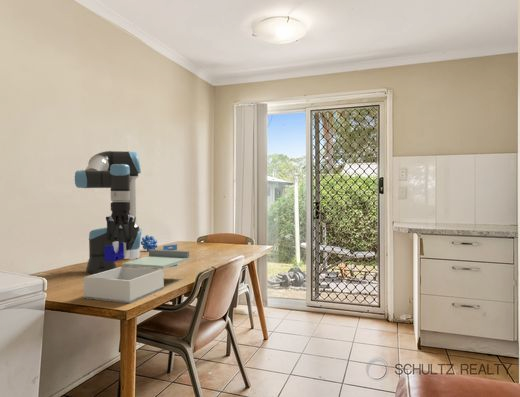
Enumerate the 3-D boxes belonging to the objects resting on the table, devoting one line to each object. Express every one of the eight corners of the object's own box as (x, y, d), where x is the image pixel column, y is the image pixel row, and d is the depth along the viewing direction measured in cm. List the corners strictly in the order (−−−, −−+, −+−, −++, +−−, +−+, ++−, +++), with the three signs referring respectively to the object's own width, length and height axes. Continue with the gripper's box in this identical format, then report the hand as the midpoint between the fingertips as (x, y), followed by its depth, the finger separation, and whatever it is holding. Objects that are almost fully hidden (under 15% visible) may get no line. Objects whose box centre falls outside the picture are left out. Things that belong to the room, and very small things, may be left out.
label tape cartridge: (174, 264, 210) (173, 243, 210) (177, 265, 207) (177, 244, 207) (160, 266, 204) (160, 245, 204) (163, 267, 201) (163, 245, 201)
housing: (83, 298, 142) (83, 277, 141) (122, 285, 162) (121, 266, 162) (130, 303, 134) (129, 281, 134) (163, 288, 155) (163, 269, 155)
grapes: (140, 252, 254) (140, 236, 254) (140, 251, 261) (140, 235, 261) (157, 251, 258) (157, 235, 258) (157, 250, 264) (157, 234, 264)
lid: (121, 265, 162) (121, 256, 162) (151, 257, 183) (151, 249, 183) (163, 268, 155) (163, 258, 155) (189, 259, 176) (189, 251, 176)
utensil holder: (135, 260, 226) (135, 232, 226) (112, 260, 226) (112, 232, 226) (143, 256, 241) (143, 230, 241) (121, 256, 241) (121, 230, 241)
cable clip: (114, 261, 140) (114, 246, 140) (104, 261, 141) (104, 246, 141) (131, 256, 152) (131, 242, 152) (122, 256, 153) (122, 242, 153)
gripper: (96, 201, 148) (97, 258, 148) (132, 201, 142) (133, 260, 142) (109, 201, 155) (110, 255, 155) (144, 201, 149) (145, 257, 149)
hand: (121, 257), depth 148 cm, fingers closed on cable clip, 5 cm apart
